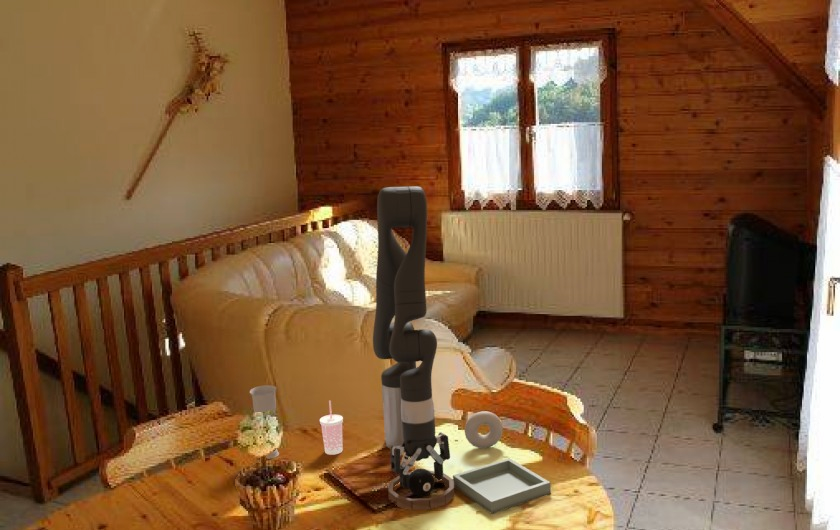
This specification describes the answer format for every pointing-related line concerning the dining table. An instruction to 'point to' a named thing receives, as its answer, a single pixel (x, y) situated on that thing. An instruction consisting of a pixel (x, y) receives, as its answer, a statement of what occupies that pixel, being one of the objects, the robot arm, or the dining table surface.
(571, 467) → the dining table surface
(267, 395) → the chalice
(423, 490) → the billiard ball
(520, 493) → the tray
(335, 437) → the beverage cup
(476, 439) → the donut
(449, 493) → the walnut ring
